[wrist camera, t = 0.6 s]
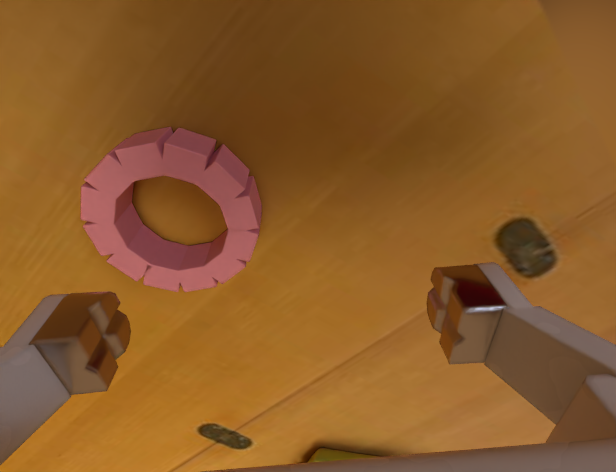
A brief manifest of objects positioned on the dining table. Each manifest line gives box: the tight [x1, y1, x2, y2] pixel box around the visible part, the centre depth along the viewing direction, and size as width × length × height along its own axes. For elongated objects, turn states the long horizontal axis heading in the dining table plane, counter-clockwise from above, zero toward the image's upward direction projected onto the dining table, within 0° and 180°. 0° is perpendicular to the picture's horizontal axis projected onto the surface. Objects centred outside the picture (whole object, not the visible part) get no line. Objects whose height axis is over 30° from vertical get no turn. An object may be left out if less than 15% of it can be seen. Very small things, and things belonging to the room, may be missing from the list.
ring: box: [81, 127, 262, 292], centre depth 22 cm, size 10×10×3 cm
